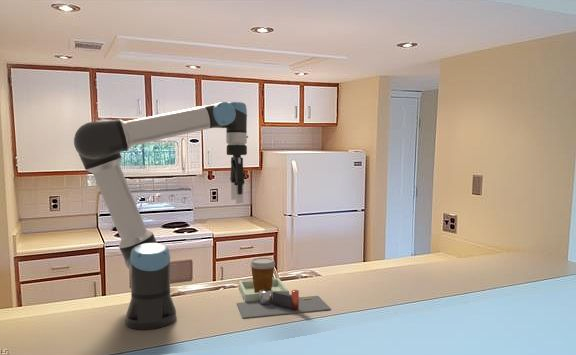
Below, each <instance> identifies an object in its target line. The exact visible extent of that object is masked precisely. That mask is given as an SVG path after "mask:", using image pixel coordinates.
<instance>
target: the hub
mask: <svg viewBox="0 0 576 355" xmlns="http://www.w3.org/2000/svg"><path fill="white" fill-rule="evenodd" d="M308 299H311V298H303V300H308ZM259 304H260V305H272V304H273V290H271V289H262V290H260V291H259Z"/></svg>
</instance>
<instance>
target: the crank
mask: <svg viewBox="0 0 576 355" xmlns="http://www.w3.org/2000/svg"><path fill="white" fill-rule="evenodd" d="M299 291H300V290H298V289H292V290H291V294H290V293H289V294H286V293H282V292H277V291H274V292H273V304H274V305H278V306H282V307H286V308H290V309H292V310H298V309H299V296H300V293H299Z"/></svg>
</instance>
